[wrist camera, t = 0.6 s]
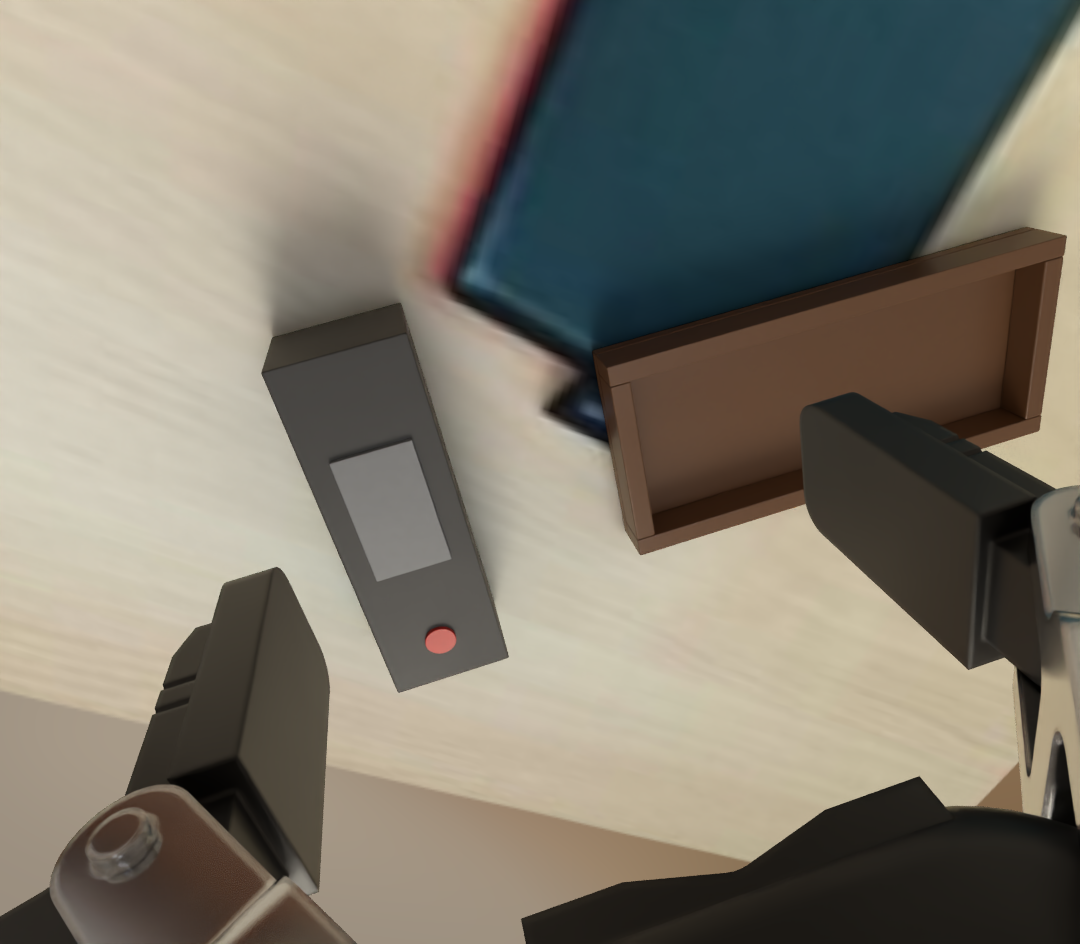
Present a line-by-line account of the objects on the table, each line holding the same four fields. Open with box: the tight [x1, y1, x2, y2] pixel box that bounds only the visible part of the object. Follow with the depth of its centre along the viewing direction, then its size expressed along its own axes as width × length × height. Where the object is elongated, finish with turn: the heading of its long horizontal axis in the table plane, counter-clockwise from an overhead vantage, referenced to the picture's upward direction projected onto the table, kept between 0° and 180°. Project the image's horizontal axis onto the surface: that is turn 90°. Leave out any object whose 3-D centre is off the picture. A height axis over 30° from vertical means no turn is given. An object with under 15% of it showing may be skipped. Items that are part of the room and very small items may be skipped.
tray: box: [592, 227, 1067, 555], centre depth 31 cm, size 9×19×2 cm, turn 102°
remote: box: [262, 303, 509, 693], centre depth 28 cm, size 14×5×4 cm, turn 12°
